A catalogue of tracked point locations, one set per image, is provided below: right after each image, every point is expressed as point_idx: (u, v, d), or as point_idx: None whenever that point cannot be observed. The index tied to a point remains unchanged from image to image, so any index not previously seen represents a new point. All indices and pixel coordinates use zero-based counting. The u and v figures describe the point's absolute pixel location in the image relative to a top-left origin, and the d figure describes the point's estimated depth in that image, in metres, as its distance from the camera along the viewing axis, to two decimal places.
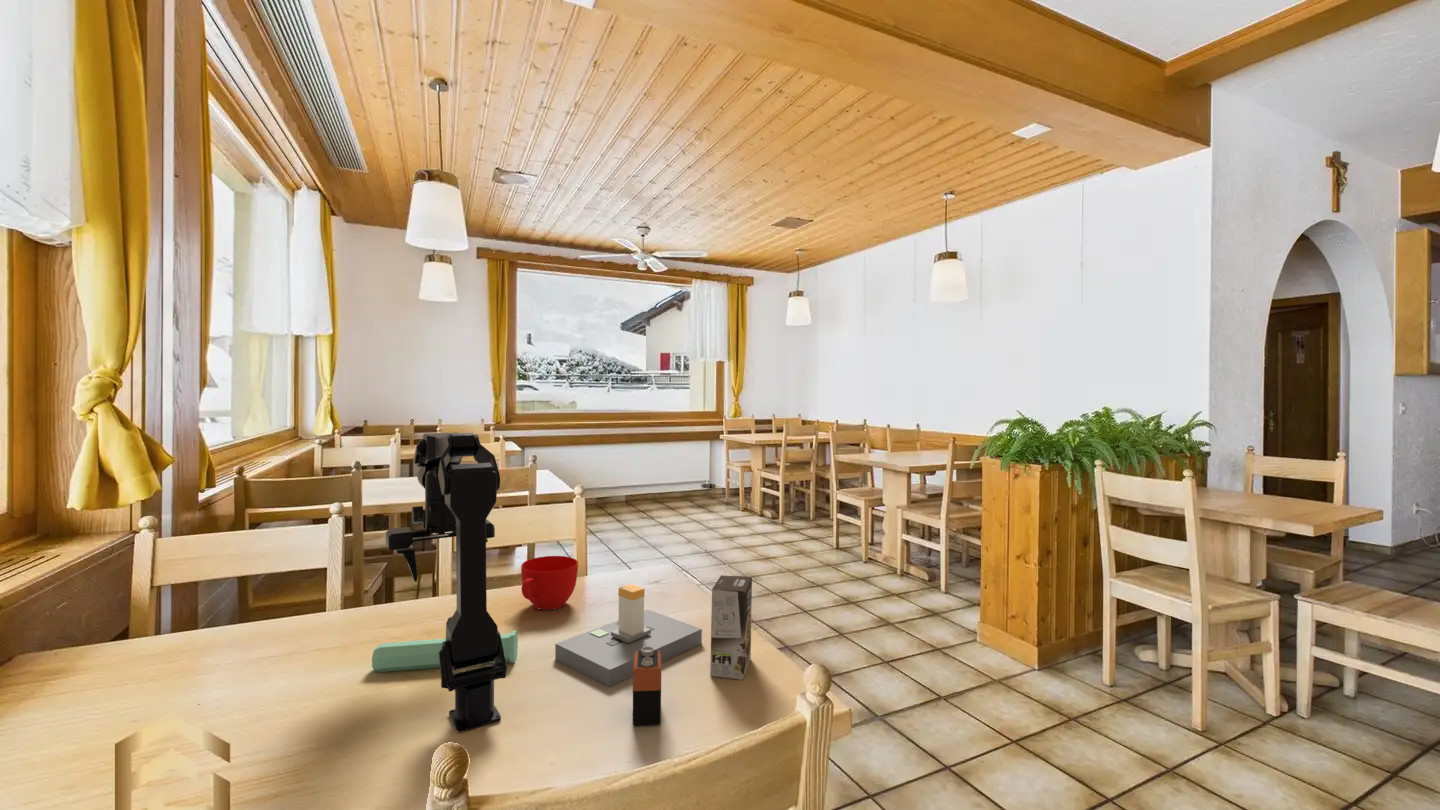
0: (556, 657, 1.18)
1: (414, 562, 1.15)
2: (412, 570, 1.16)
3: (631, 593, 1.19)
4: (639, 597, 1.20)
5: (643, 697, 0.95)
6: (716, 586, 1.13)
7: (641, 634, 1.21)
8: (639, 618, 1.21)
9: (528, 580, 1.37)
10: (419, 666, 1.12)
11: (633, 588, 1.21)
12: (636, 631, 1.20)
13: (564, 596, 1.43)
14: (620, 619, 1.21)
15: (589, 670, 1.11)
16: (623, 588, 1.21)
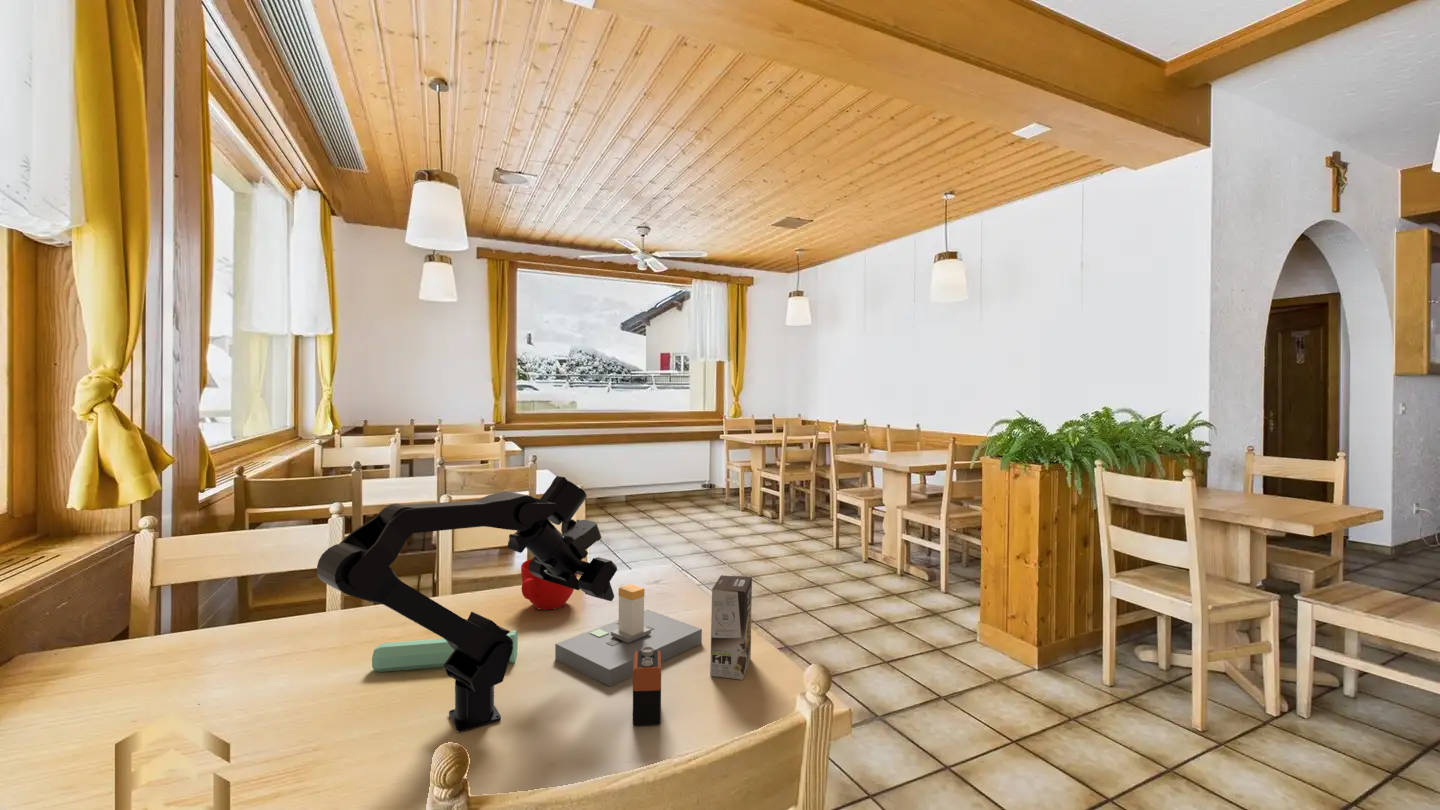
0: (556, 657, 1.18)
1: (559, 584, 1.15)
2: None
3: (631, 593, 1.19)
4: (639, 597, 1.20)
5: (643, 697, 0.95)
6: (716, 586, 1.13)
7: (641, 634, 1.21)
8: (639, 618, 1.21)
9: (528, 580, 1.37)
10: (419, 666, 1.13)
11: (633, 588, 1.21)
12: (636, 631, 1.20)
13: (564, 596, 1.43)
14: (620, 619, 1.21)
15: (589, 670, 1.11)
16: (623, 588, 1.21)
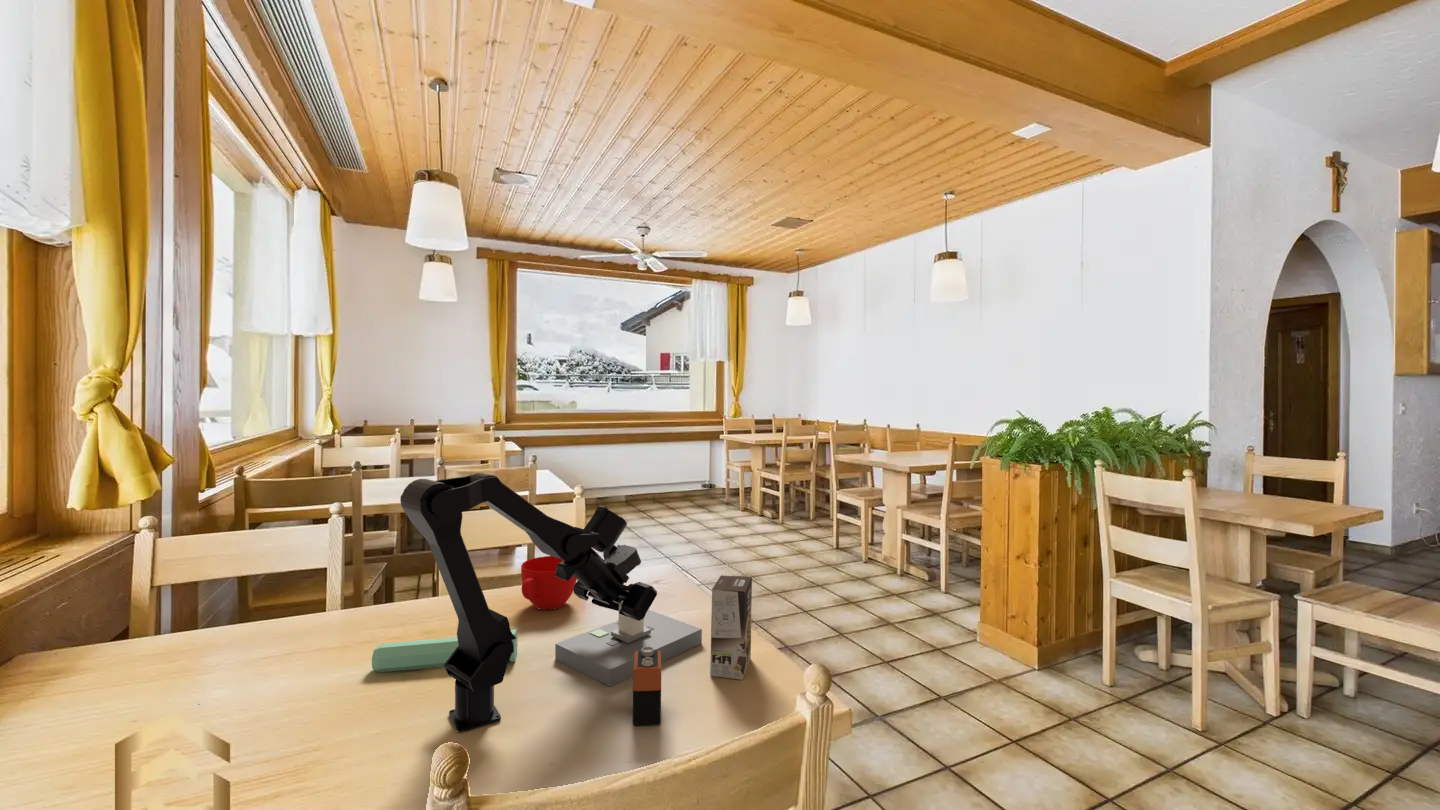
0: (556, 657, 1.18)
1: (610, 608, 1.21)
2: None
3: None
4: None
5: (643, 697, 0.95)
6: (716, 586, 1.13)
7: (641, 634, 1.21)
8: None
9: (528, 580, 1.37)
10: (419, 666, 1.13)
11: None
12: (636, 631, 1.20)
13: (564, 596, 1.43)
14: (620, 619, 1.21)
15: (589, 670, 1.11)
16: None
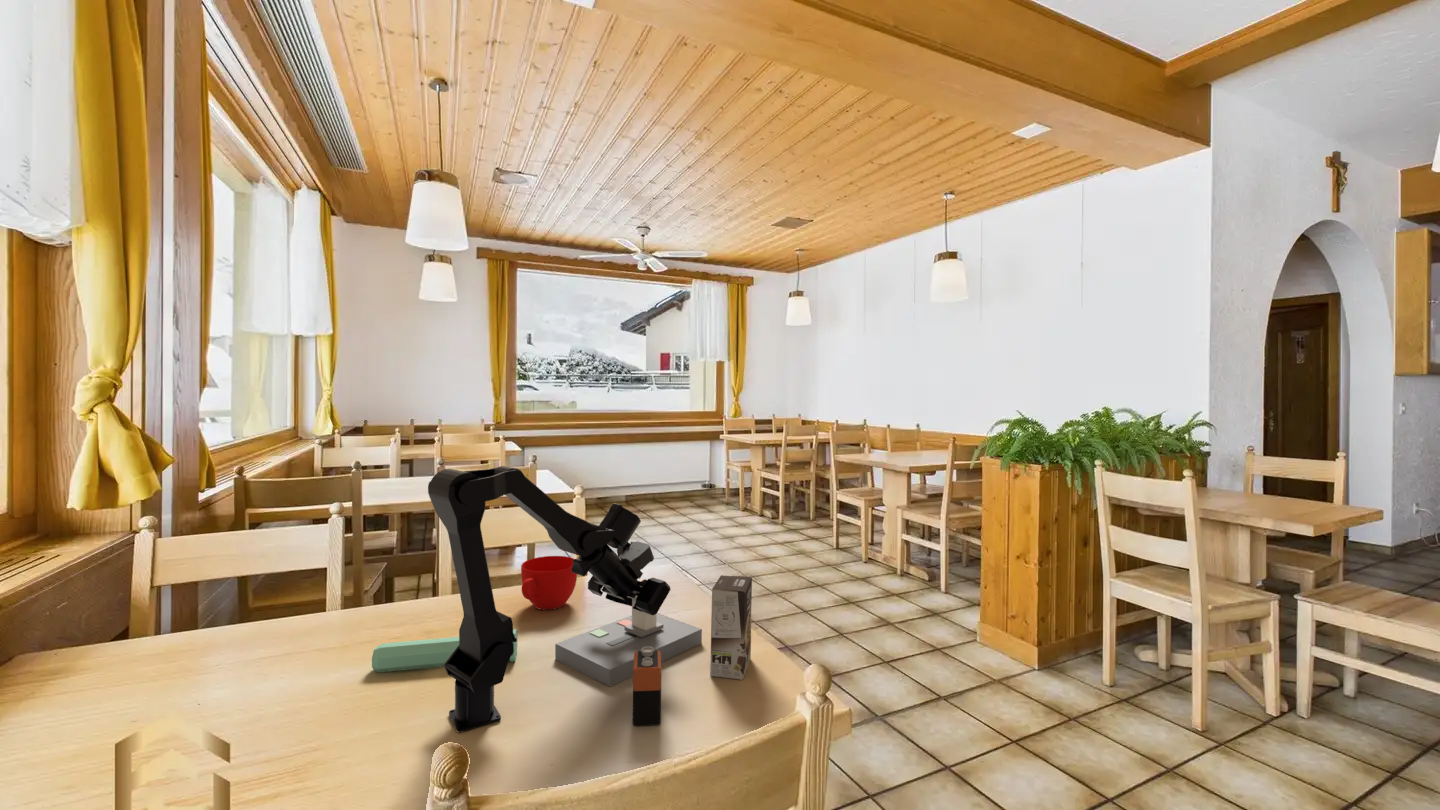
0: (556, 657, 1.18)
1: None
2: (629, 605, 1.25)
3: None
4: None
5: (643, 697, 0.95)
6: (716, 586, 1.13)
7: (654, 629, 1.23)
8: None
9: (528, 580, 1.37)
10: (419, 666, 1.13)
11: None
12: (649, 626, 1.23)
13: (564, 596, 1.43)
14: (633, 614, 1.24)
15: (589, 670, 1.11)
16: None
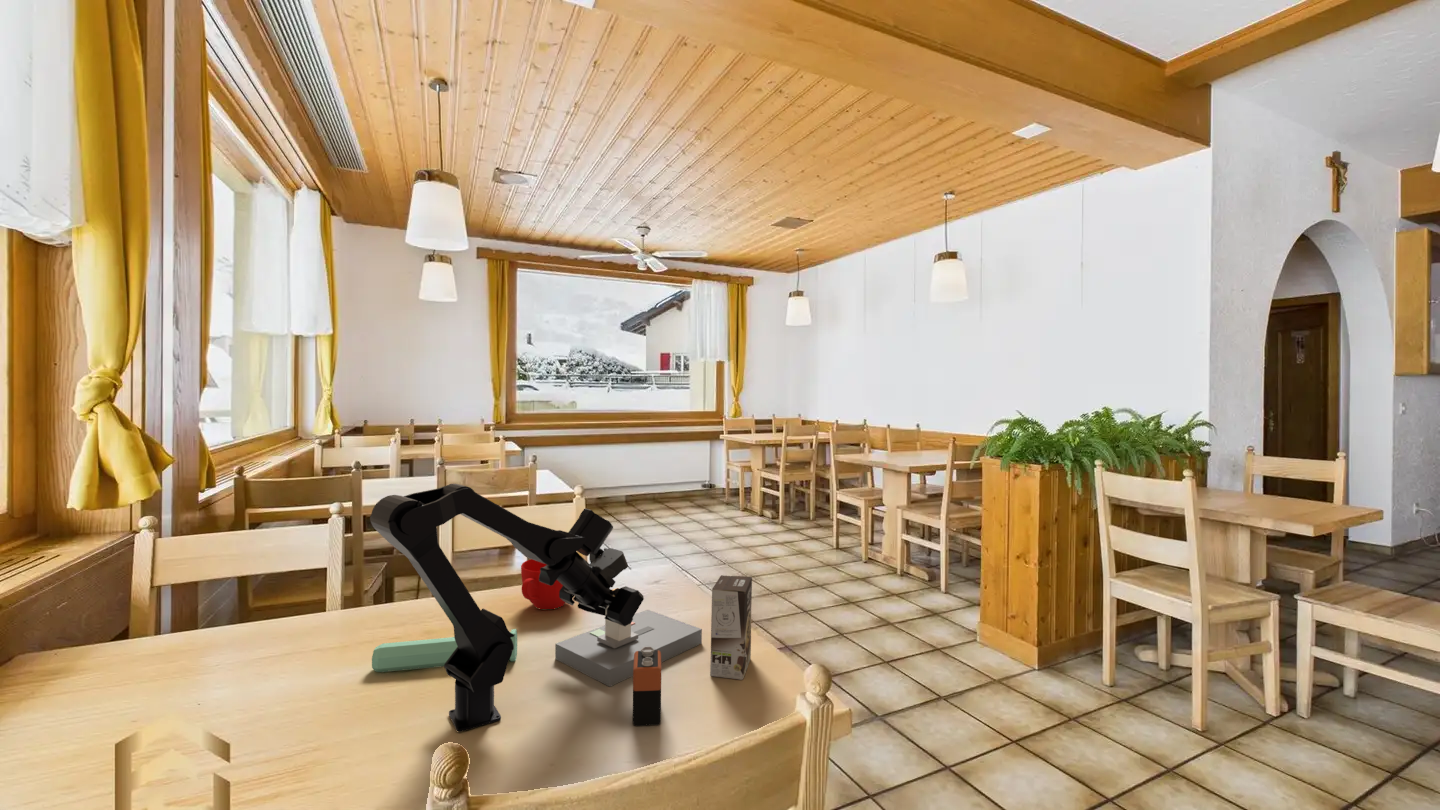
0: (556, 657, 1.18)
1: (596, 613, 1.18)
2: (602, 614, 1.20)
3: None
4: None
5: (643, 697, 0.95)
6: (716, 586, 1.13)
7: (628, 639, 1.18)
8: None
9: (528, 580, 1.37)
10: (420, 666, 1.13)
11: None
12: (623, 636, 1.18)
13: None
14: (607, 624, 1.19)
15: (589, 670, 1.11)
16: None
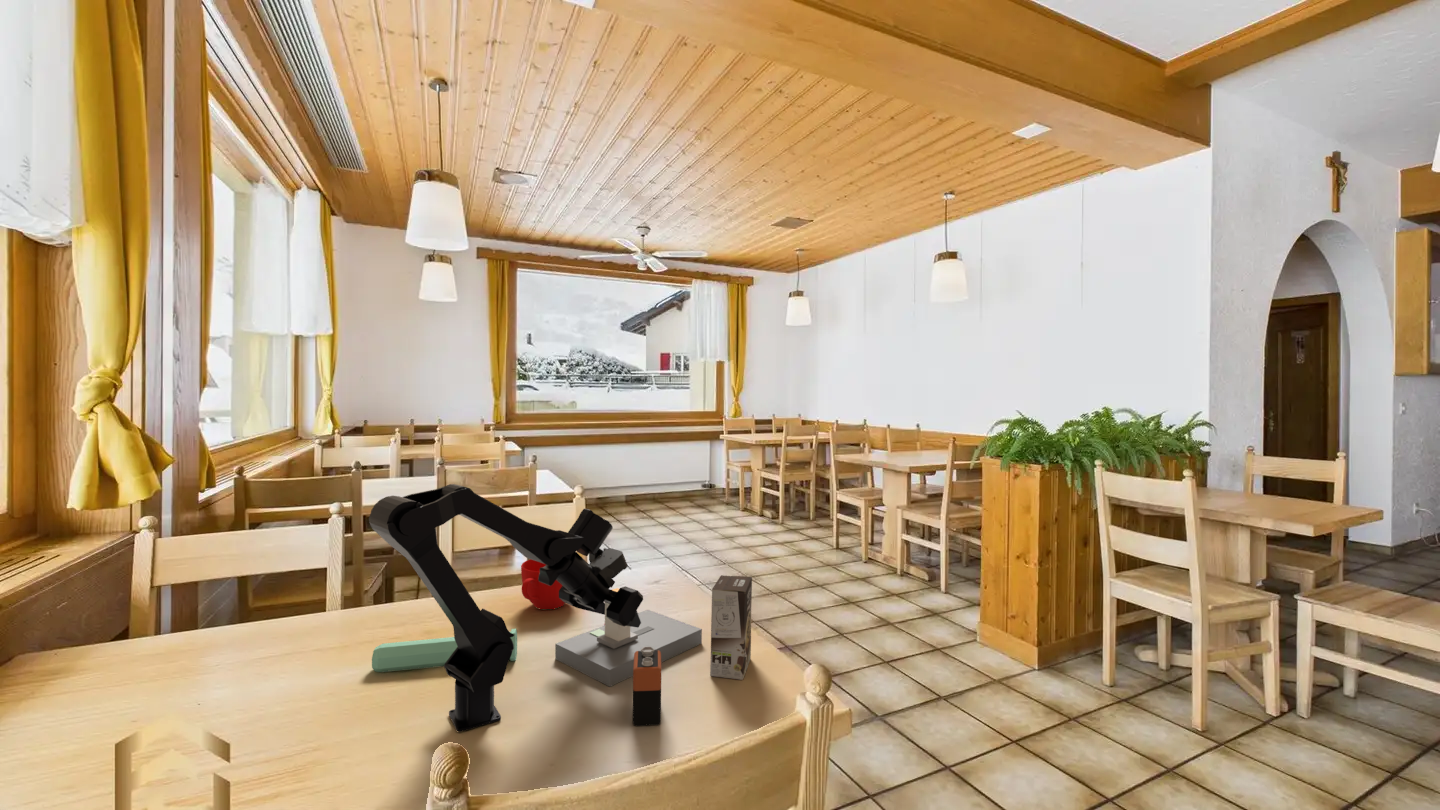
0: (556, 657, 1.18)
1: (588, 610, 1.20)
2: (594, 611, 1.21)
3: None
4: None
5: (643, 697, 0.95)
6: (716, 586, 1.13)
7: (627, 640, 1.18)
8: None
9: (528, 580, 1.37)
10: (420, 666, 1.13)
11: None
12: (622, 636, 1.18)
13: None
14: (606, 624, 1.19)
15: (589, 670, 1.11)
16: None
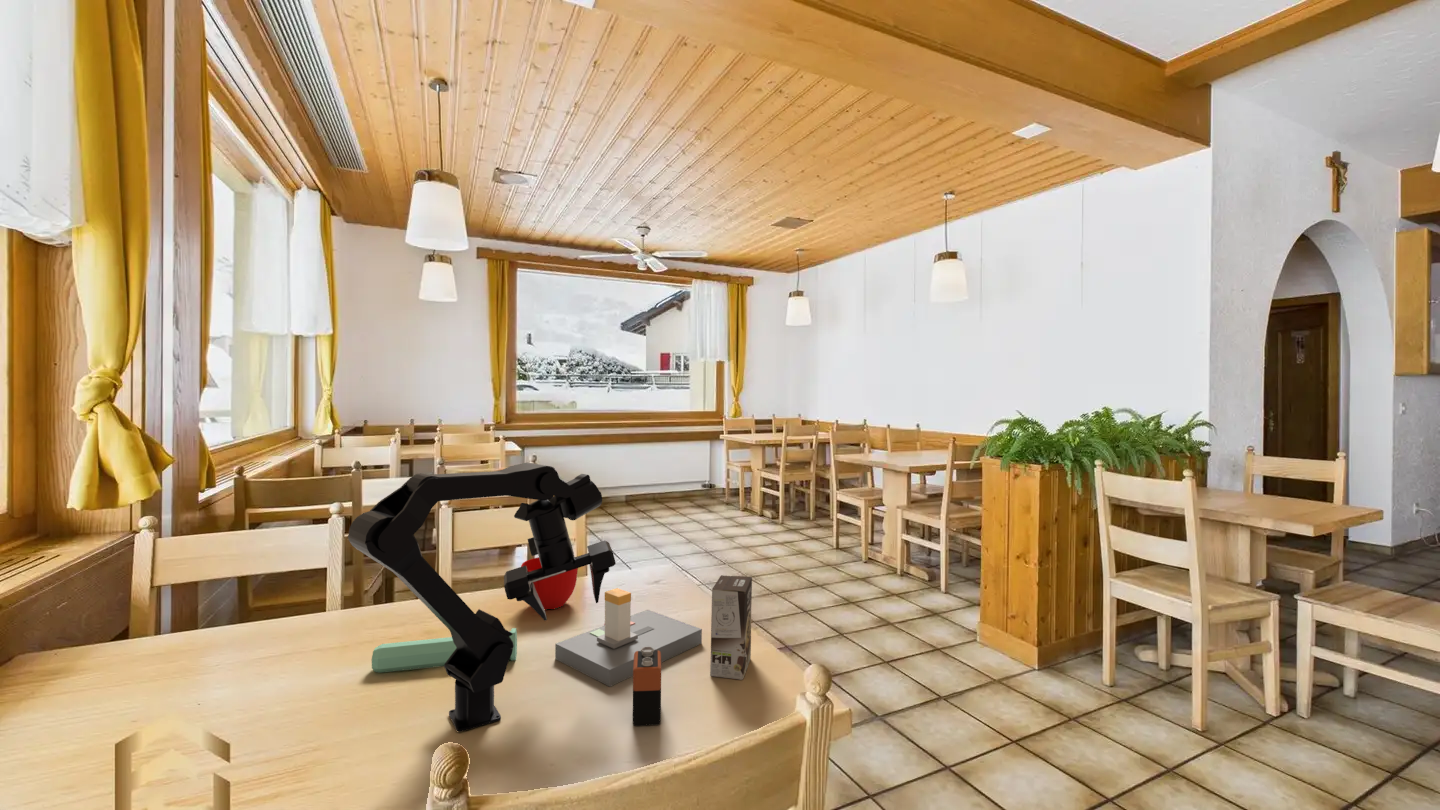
0: (556, 657, 1.18)
1: (537, 605, 1.06)
2: (538, 612, 1.07)
3: (617, 598, 1.17)
4: (625, 602, 1.18)
5: (643, 697, 0.95)
6: (716, 586, 1.13)
7: (627, 640, 1.18)
8: (625, 623, 1.18)
9: None
10: (420, 666, 1.13)
11: (619, 592, 1.19)
12: (622, 636, 1.18)
13: (564, 596, 1.43)
14: (606, 624, 1.19)
15: (589, 670, 1.11)
16: (609, 593, 1.18)
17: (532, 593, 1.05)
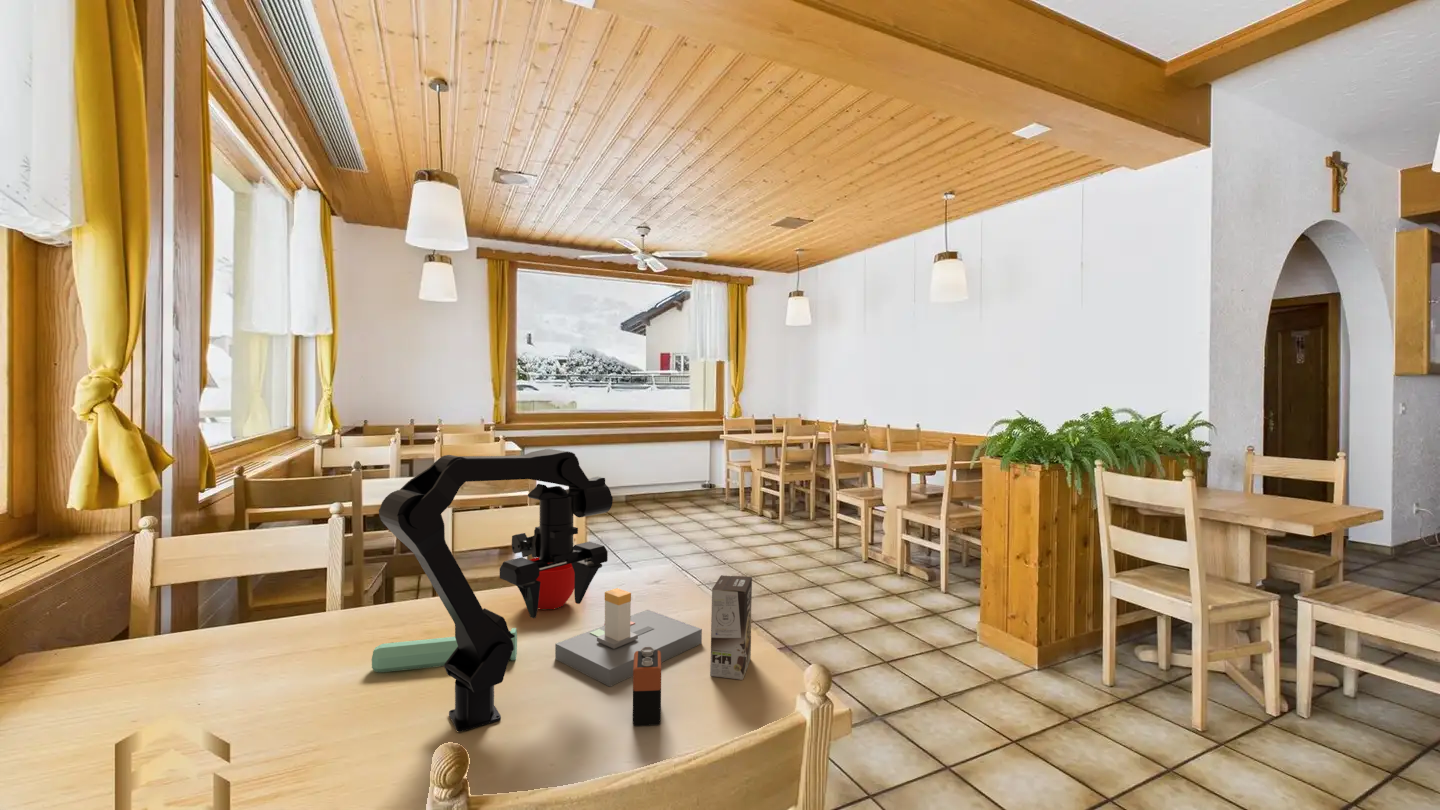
0: (556, 657, 1.18)
1: (537, 596, 1.03)
2: (534, 605, 1.03)
3: (617, 598, 1.17)
4: (625, 602, 1.18)
5: (643, 697, 0.95)
6: (716, 586, 1.13)
7: (627, 640, 1.18)
8: (625, 623, 1.18)
9: None
10: (420, 666, 1.13)
11: (619, 592, 1.19)
12: (622, 636, 1.18)
13: (564, 596, 1.43)
14: (606, 624, 1.19)
15: (589, 670, 1.11)
16: (609, 593, 1.18)
17: (538, 581, 1.02)
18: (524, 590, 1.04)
